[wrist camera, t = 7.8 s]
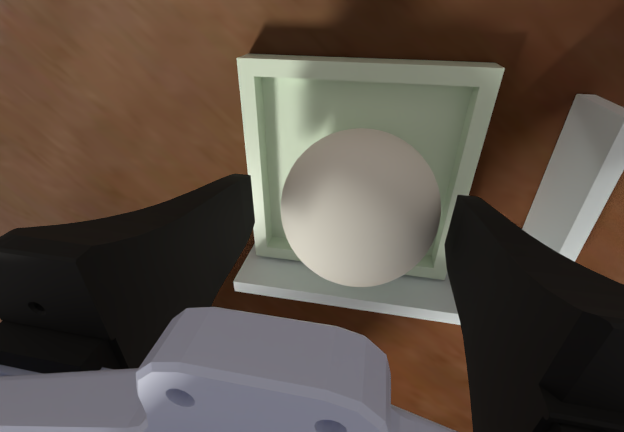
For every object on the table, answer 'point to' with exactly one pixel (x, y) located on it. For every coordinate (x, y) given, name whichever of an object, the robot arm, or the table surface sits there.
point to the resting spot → (362, 125)
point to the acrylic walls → (539, 224)
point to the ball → (360, 207)
